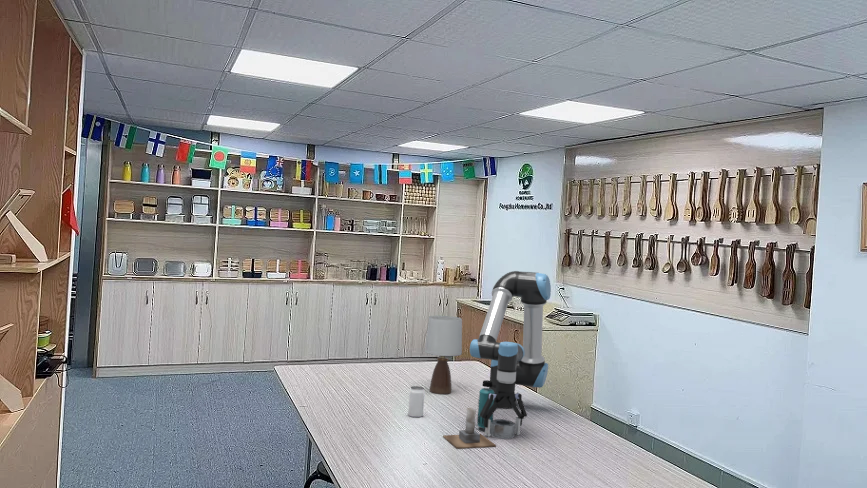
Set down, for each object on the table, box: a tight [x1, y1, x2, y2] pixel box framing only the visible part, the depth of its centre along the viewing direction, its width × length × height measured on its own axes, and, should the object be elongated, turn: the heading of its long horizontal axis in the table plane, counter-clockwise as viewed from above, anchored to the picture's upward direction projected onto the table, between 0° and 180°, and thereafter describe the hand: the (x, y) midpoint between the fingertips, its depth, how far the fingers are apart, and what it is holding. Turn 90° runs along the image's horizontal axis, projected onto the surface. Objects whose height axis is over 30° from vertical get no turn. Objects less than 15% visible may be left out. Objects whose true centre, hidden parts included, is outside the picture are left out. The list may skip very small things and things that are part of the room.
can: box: [407, 385, 425, 418], centre depth 281 cm, size 6×6×12 cm
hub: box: [490, 418, 516, 440], centre depth 261 cm, size 9×9×5 cm
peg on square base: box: [442, 407, 497, 450], centre depth 250 cm, size 16×14×13 cm
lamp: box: [424, 315, 463, 395], centre depth 327 cm, size 19×19×37 cm
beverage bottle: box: [476, 379, 495, 429], centre depth 267 cm, size 6×7×20 cm
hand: (502, 434), depth 261 cm, fingers open, 12 cm apart
